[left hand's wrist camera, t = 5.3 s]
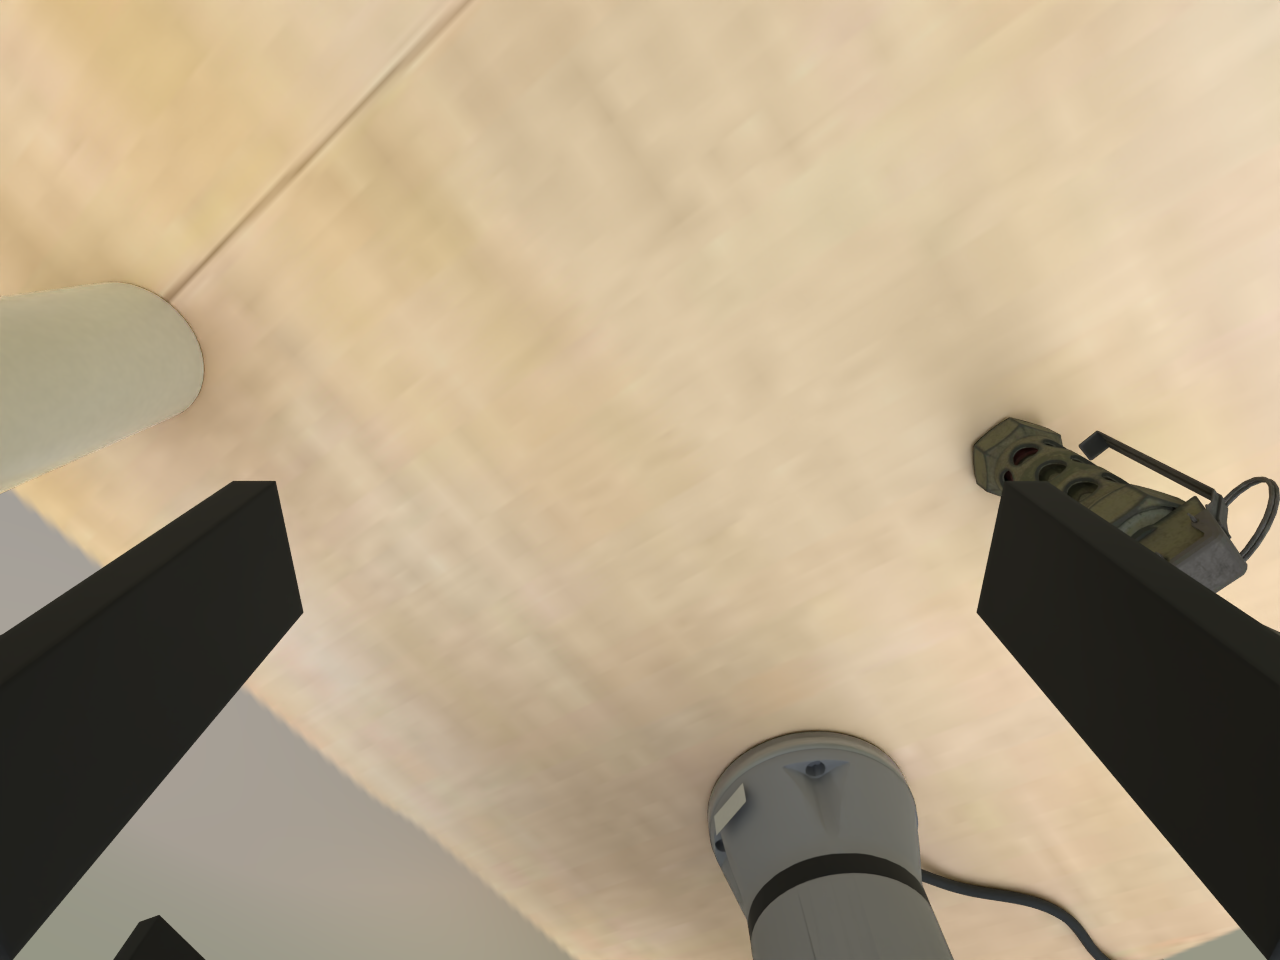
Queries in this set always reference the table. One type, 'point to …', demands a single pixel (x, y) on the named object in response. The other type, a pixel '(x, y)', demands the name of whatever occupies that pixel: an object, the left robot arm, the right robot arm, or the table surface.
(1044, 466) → the grenade
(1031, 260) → the table surface
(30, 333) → the jar
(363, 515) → the table surface
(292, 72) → the table surface
